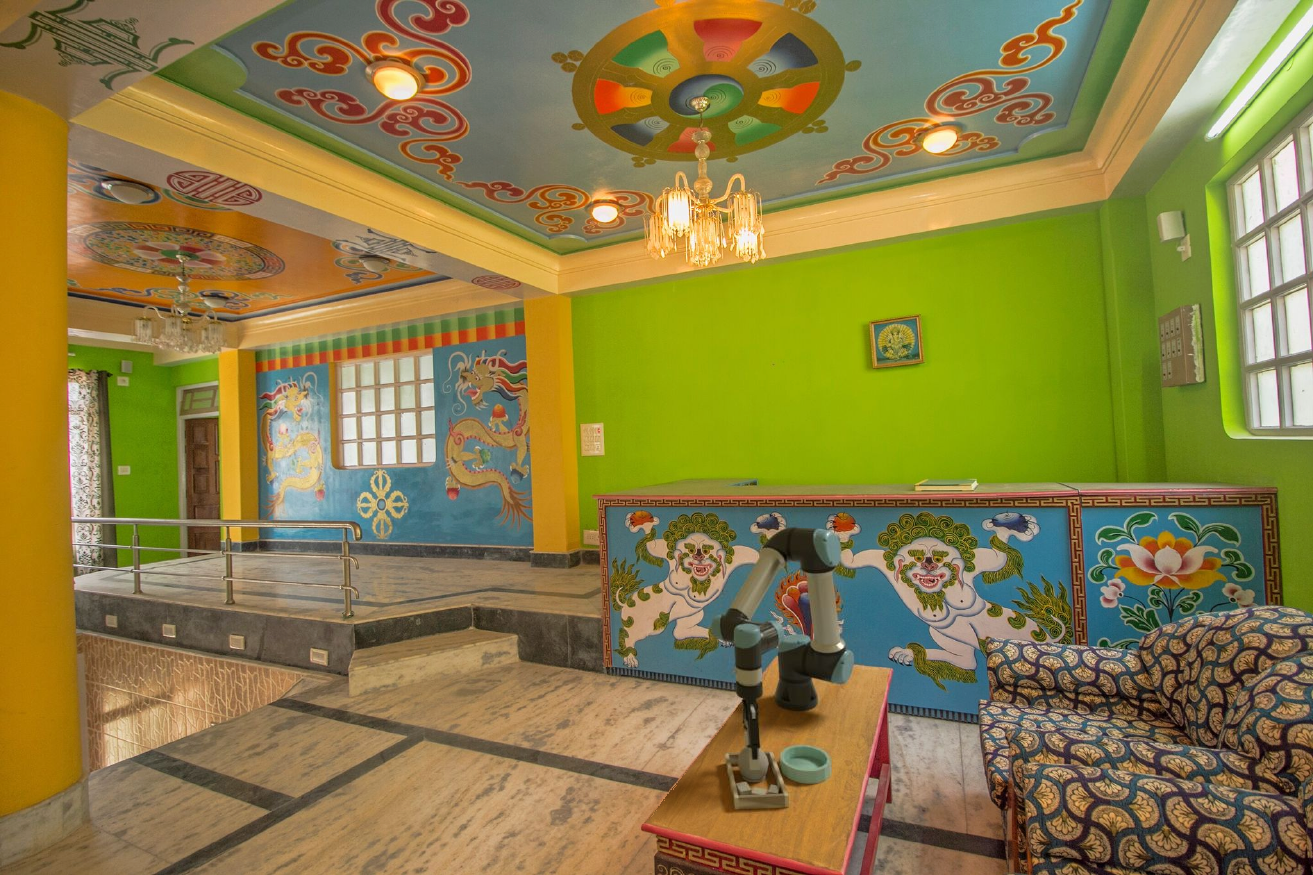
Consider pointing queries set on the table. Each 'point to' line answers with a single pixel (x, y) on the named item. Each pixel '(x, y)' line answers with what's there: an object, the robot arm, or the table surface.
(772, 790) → the pebble
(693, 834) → the table surface
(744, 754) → the potion bottle
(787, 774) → the bowl
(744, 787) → the grey block
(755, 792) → the pebble
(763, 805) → the tray
